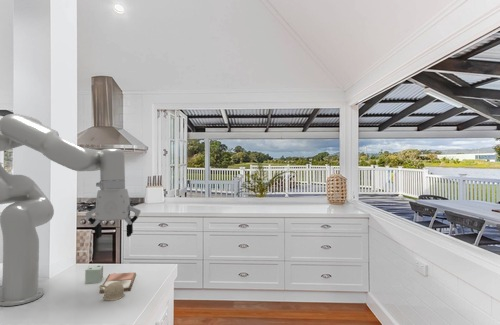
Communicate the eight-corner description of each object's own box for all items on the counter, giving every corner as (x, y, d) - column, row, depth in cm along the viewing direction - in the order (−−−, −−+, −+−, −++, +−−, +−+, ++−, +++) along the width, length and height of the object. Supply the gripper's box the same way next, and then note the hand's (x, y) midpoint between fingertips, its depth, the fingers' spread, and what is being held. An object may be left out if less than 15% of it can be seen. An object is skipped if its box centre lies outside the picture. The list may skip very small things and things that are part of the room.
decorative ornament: (126, 297, 103) (127, 281, 103) (99, 304, 98) (100, 287, 98) (123, 293, 106) (123, 277, 106) (96, 299, 101) (97, 283, 101)
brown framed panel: (99, 293, 106) (99, 289, 106) (109, 276, 121) (109, 273, 121) (130, 291, 108) (130, 287, 108) (135, 275, 124) (135, 272, 124)
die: (85, 283, 114) (85, 270, 114) (88, 278, 119) (89, 265, 119) (99, 282, 115) (100, 269, 115) (102, 278, 120) (103, 264, 120)
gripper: (80, 187, 99) (82, 240, 98) (137, 185, 101) (138, 237, 101) (90, 185, 106) (91, 235, 106) (142, 184, 108) (143, 232, 108)
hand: (114, 236), depth 103 cm, fingers open, 9 cm apart
